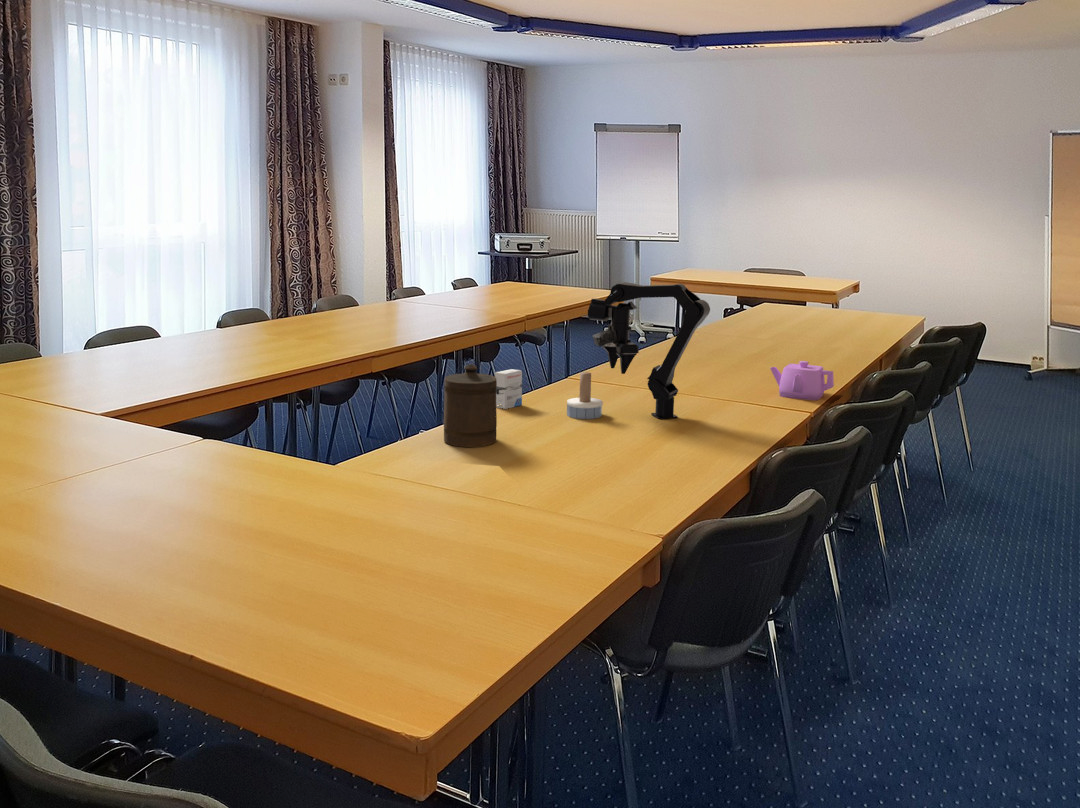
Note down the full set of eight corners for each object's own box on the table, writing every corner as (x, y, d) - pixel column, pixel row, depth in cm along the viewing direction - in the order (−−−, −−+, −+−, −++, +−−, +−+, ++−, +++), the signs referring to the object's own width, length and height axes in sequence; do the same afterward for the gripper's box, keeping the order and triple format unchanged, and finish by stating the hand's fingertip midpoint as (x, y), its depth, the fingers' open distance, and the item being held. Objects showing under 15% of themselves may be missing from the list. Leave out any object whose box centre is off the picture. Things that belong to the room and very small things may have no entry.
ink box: (511, 403, 318) (511, 368, 316) (522, 405, 315) (522, 370, 313) (494, 407, 312) (494, 371, 309) (505, 409, 309) (505, 373, 306)
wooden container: (502, 436, 276) (502, 361, 271) (488, 449, 261) (489, 370, 257) (452, 432, 279) (452, 358, 274) (437, 445, 264) (436, 367, 260)
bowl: (606, 418, 299) (606, 407, 298) (573, 419, 296) (573, 408, 295) (594, 410, 309) (594, 399, 308) (562, 412, 306) (563, 401, 305)
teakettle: (836, 399, 331) (839, 364, 328) (793, 402, 326) (796, 366, 323) (808, 389, 347) (810, 356, 344) (767, 392, 342) (769, 358, 339)
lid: (607, 407, 298) (608, 375, 296) (573, 409, 295) (574, 377, 293) (595, 399, 309) (596, 369, 306) (562, 401, 305) (563, 370, 303)
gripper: (586, 318, 309) (584, 366, 312) (607, 327, 291) (604, 377, 295) (618, 318, 312) (616, 365, 316) (640, 326, 295) (637, 376, 298)
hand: (617, 371), depth 306 cm, fingers open, 9 cm apart
